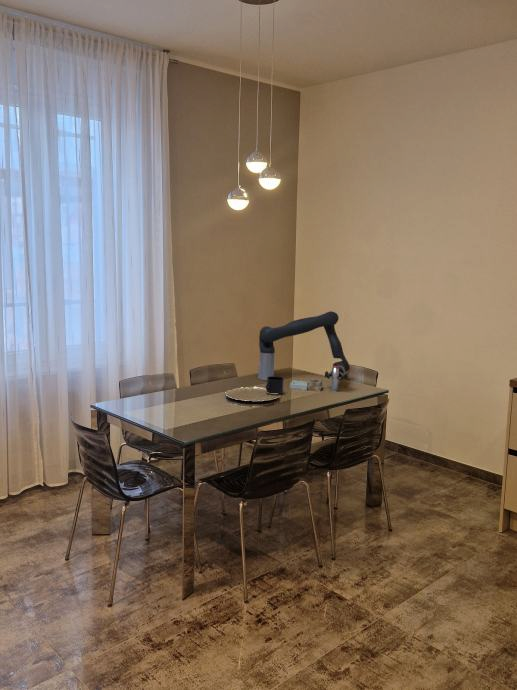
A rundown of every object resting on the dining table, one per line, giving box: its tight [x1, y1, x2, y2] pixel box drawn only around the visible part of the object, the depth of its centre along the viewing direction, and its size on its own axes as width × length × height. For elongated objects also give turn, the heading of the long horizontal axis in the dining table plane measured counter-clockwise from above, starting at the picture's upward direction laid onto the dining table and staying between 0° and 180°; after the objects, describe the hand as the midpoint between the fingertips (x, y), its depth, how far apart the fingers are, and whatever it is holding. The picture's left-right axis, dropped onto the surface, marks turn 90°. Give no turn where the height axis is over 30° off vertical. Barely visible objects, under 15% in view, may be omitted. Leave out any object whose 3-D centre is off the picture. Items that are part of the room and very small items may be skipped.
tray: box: [289, 380, 308, 391], centre depth 375 cm, size 10×10×3 cm
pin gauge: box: [331, 365, 339, 392], centre depth 369 cm, size 4×4×15 cm
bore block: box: [306, 378, 323, 391], centre depth 373 cm, size 8×8×5 cm
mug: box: [265, 375, 284, 395], centre depth 358 cm, size 9×12×9 cm
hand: (334, 377), depth 367 cm, fingers open, 7 cm apart
